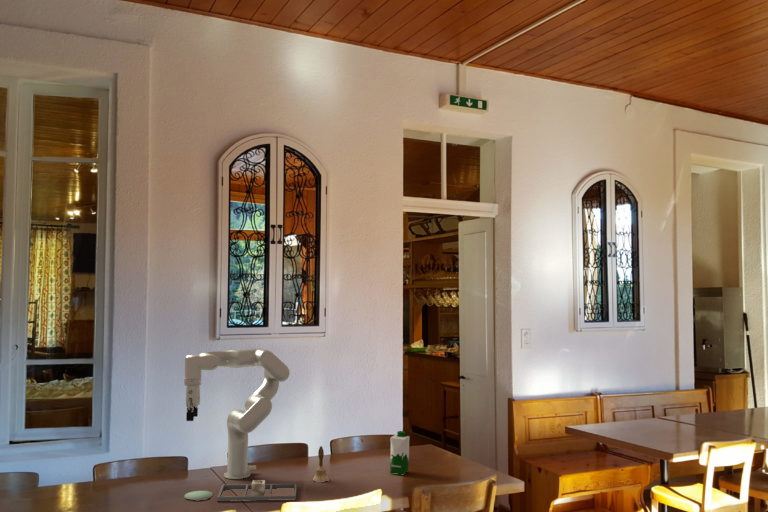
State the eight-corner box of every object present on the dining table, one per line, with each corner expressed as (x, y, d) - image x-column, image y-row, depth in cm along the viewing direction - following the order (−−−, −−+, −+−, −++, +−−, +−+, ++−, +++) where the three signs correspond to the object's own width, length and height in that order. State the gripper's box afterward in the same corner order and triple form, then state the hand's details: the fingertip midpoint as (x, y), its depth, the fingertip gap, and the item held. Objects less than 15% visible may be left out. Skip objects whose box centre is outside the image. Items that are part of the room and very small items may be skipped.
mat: (204, 490, 313) (205, 489, 313) (217, 497, 304) (217, 495, 304) (179, 495, 305) (179, 494, 305) (192, 503, 296) (192, 501, 296)
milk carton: (410, 471, 350) (411, 431, 351) (404, 476, 342) (405, 435, 342) (394, 469, 354) (395, 430, 354) (387, 474, 345) (388, 433, 346)
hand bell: (316, 483, 328) (316, 449, 328) (309, 478, 335) (310, 445, 335) (332, 481, 331) (333, 447, 332) (325, 476, 339) (326, 443, 339)
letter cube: (264, 492, 311) (265, 480, 311) (264, 496, 305) (264, 483, 305) (252, 492, 310) (252, 480, 310) (251, 496, 304) (251, 483, 305)
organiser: (296, 489, 318) (296, 483, 318) (295, 501, 301) (295, 495, 301) (222, 490, 314) (222, 484, 314) (217, 503, 297) (217, 497, 297)
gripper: (197, 384, 316) (196, 422, 316) (204, 378, 333) (203, 414, 333) (180, 384, 316) (179, 422, 315) (188, 378, 333) (187, 414, 332)
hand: (192, 418), depth 324 cm, fingers open, 9 cm apart
